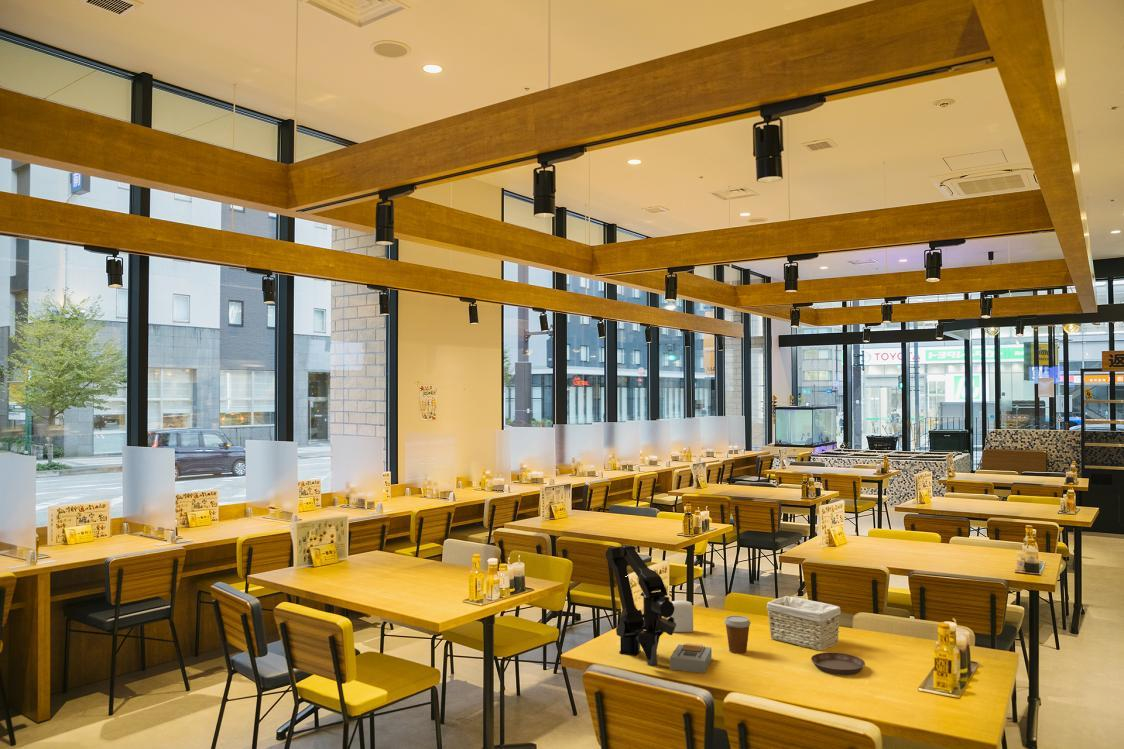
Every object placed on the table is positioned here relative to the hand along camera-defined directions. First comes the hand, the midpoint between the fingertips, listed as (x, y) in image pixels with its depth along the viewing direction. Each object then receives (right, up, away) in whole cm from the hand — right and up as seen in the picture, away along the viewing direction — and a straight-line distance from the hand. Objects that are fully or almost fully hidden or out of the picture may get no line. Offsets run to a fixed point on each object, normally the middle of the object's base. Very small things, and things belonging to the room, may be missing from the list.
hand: (652, 655), depth 266 cm
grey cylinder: (0, -3, 0) cm, 3 cm away
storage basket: (+62, -5, +26) cm, 68 cm away
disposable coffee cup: (+34, -4, +14) cm, 37 cm away
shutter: (+15, +1, +4) cm, 16 cm away
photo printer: (+17, -6, +41) cm, 44 cm away
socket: (+14, -3, 0) cm, 14 cm away
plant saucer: (+64, -3, -5) cm, 64 cm away
